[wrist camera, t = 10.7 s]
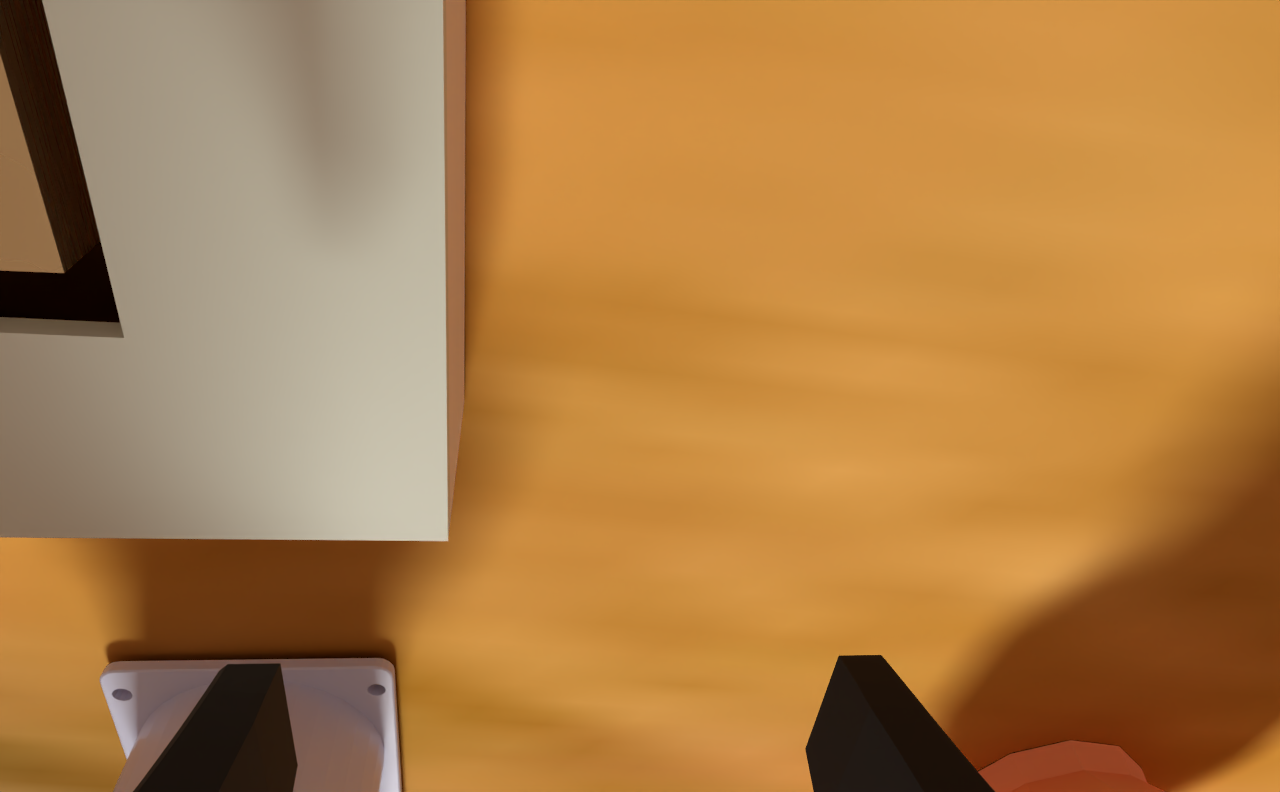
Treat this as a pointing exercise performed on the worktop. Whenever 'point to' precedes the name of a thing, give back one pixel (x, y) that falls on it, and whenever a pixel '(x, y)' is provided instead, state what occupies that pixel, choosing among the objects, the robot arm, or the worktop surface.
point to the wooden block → (38, 152)
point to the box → (253, 278)
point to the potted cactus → (1068, 770)
